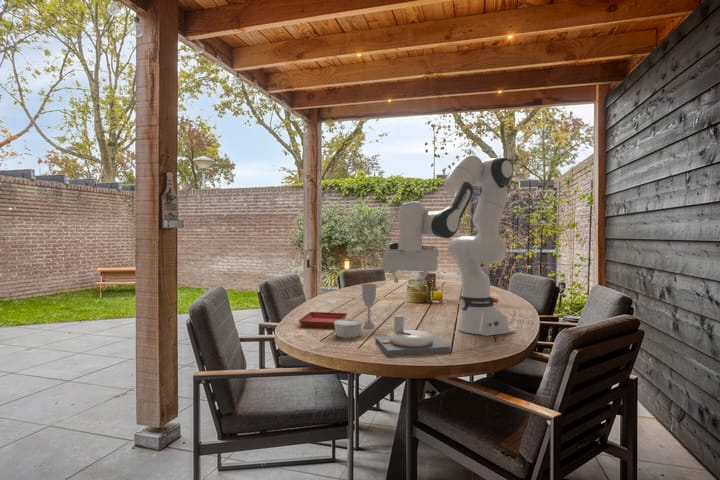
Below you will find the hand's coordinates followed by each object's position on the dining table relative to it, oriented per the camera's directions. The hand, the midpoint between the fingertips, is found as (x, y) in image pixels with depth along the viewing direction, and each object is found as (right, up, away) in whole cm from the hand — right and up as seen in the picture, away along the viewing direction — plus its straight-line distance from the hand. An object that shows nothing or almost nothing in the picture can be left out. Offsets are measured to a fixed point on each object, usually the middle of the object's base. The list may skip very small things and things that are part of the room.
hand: (409, 283), depth 151 cm
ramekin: (-23, -22, +11) cm, 34 cm away
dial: (0, -20, -5) cm, 21 cm away
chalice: (-14, -22, +24) cm, 36 cm away
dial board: (0, -22, -5) cm, 23 cm away
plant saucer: (-34, -22, +32) cm, 51 cm away
